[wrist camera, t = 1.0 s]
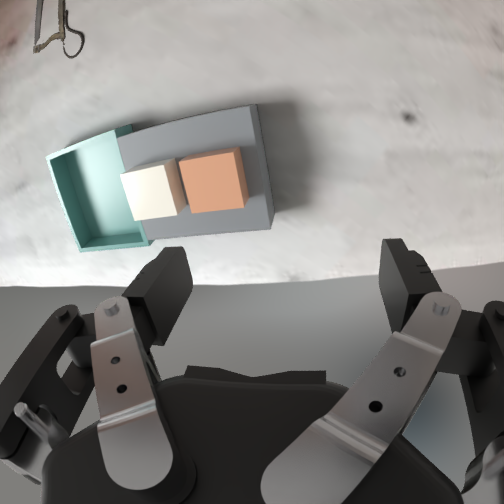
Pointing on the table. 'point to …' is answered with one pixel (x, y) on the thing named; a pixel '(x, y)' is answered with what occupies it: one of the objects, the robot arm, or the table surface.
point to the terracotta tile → (215, 180)
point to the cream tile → (154, 190)
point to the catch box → (96, 193)
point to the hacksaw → (61, 34)
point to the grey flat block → (198, 141)
